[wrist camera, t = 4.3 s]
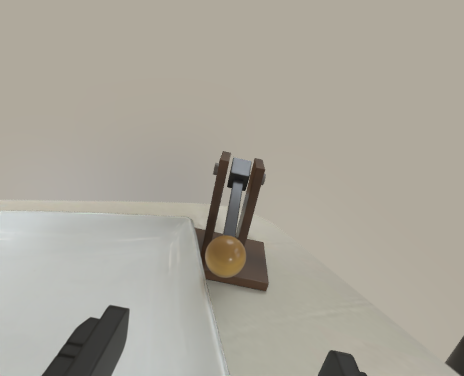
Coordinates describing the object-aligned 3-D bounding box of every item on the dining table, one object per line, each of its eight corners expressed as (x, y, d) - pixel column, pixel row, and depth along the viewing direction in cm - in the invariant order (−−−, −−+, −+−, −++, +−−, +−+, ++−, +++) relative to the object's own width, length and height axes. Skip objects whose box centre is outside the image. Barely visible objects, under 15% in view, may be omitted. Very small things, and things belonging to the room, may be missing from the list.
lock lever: (239, 288, 23) (248, 269, 21) (199, 280, 23) (203, 259, 20) (251, 180, 33) (258, 158, 31) (223, 174, 33) (228, 151, 31)
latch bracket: (266, 291, 31) (301, 183, 26) (165, 270, 31) (183, 157, 26) (261, 249, 39) (287, 161, 35) (182, 232, 39) (198, 141, 34)
